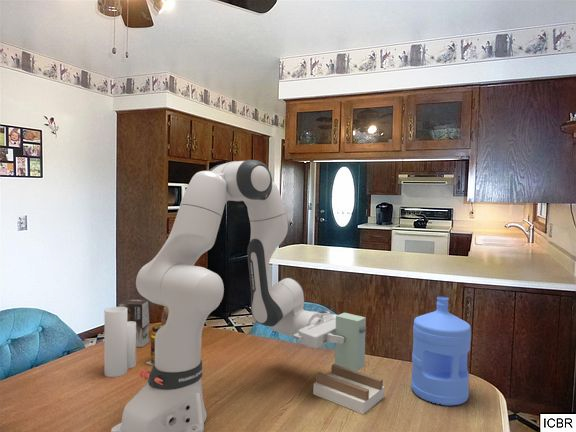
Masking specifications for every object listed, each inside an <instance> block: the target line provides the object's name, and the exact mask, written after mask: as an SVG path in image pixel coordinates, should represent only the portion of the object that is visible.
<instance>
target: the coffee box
mask: <svg viewBox="0 0 576 432" xmlns="http://www.w3.org/2000/svg"><path fill="white" fill-rule="evenodd" d="M118 307H126V308H127V322H129V321H133V322H136V348H144V347H145V346H146V345H147V344H149V343H151V335H150V301H149V300H147V299H129V298H127V299H126V300H123V301H122V302H120V303H119V305H118Z"/></svg>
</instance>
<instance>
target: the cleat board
mask: <svg viewBox="0 0 576 432" xmlns="http://www.w3.org/2000/svg"><path fill="white" fill-rule="evenodd" d="M383 381H384V380H383V379H382V378H380V377H376V376H373V375H369V374H367V373H363V372H361V371H359V370H358V371H357V372H356V371H353V370H350V369H347V368H344V367H341V366H338V365H335V363H333V364H331V373H330V374H326V373H323V372H319V371H318V372H317V373H316V377H315V382H314V383H313V389H312V390H313V392H312V394H313V395H315V397H316V396H317V397H320V398H322V399H324V400H327V401H329V402H332V403H334V404H337V405H339V406H343V407H344V408H347V409H350V410H352V411H355V412H357V413H359V414H362V415H364V414H365V413H367V412H368V411H369V410H370V409H372V408H373V407H374V406H375V405H376V404H378V403H379V402H380V401H381V400H382V399H384V398H385V386H383Z"/></svg>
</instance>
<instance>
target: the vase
mask: <svg viewBox="0 0 576 432" xmlns="http://www.w3.org/2000/svg"><path fill="white" fill-rule="evenodd" d="M103 324H104V330H103V331H104V333H103V334H104V338H103V339H104V349H103V350H104V354H103V355H104V359H103V360H104V361H103V362H104V368H103V369H104V374H103V375H104V376H105V377H107V378H118V377H122V376H124V375H125V374H127V373H128V370H129V369H132V368H134V367H136V364H137V347H136V322H133V321H129V322H127V308H126V307H119V306H113V307H108V308H105V309H104V323H103Z"/></svg>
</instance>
